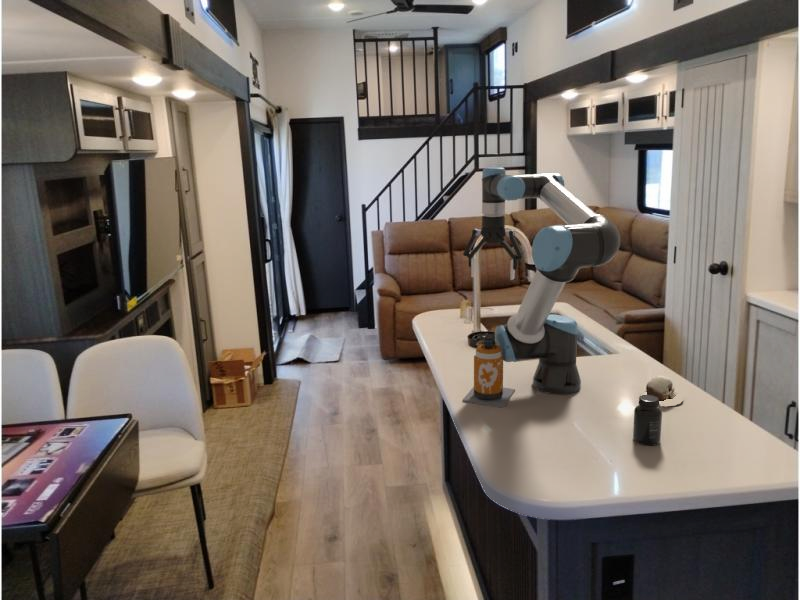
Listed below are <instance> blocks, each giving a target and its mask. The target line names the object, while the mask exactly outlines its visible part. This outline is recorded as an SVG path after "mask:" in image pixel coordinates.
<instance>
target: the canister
mask: <svg viewBox="0 0 800 600" xmlns="http://www.w3.org/2000/svg"><path fill="white" fill-rule="evenodd" d="M484 335H485V336H484V339H483V340H480V341H478V342H477V343H476V348H475V354H474V356H473V387H474V395H475V396H476V397H479V398H482V399H486V400H492V399H496V398H499V397H501V396H502V395H503V388H504V360H503V356H502V350H501V348H500V347H499V346H498V345H496V344H494V343H495V334H494V333H491V334H490V333H487V332H485V334H484Z"/></svg>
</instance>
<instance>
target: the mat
mask: <svg viewBox="0 0 800 600" xmlns="http://www.w3.org/2000/svg"><path fill="white" fill-rule="evenodd" d="M515 392H516V388H509V387H503V395H502V396H501V397H499V398H496V399H492V400H486V399H482V398H479V397H476V396H475V395H474V386H472V388H471V389H470V390H469V392H468V393H467V394H466V395H465V396H464V397H463V399H462V402H463V403H470V404H475V405H476V404H477V405H483V406H489V407H496V408H505V406H506V405H507V404H508V402H509V401H510V399H511V397H512V396H513V395H514V393H515Z"/></svg>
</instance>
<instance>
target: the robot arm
mask: <svg viewBox="0 0 800 600" xmlns="http://www.w3.org/2000/svg"><path fill="white" fill-rule="evenodd" d="M506 172H507V171H506V169H505V168H504V167H499V166H498V167H497V166H496V167H495V166H494V167H484V168H483V170H482V176H481V177H482V178H481V190H482V191H481V194H482V195H481V198H482V200H481V214H482V216H481V229H478V228H474V229H473V230H471V231H472V232H471V237H470V239H469V241H468V243H467V245H466V247H465V250H464V251H463V256H464V257H466V258H468V267H469V268H470V269H471V271H470V272H471V273H470V276H471V278H474V277H477V275H476V274H477V273H476V272H477V270H476V269H477V266H476V265H477V264H476V263H477V257H476V256H475V255H476V254H478V253H477V252H479V250H480V249H481V248H482V247H483V245H485V244H486V243H487V244H500V245H501V246H502V247H503V248H504V250H505V251H506V252H507V254H508V255H509V256H510V257H511V260H510V277H509V278H510V279H509V280H510V281H513V280H514V279H515V275H516V273H515V271H516V270H518V267H519V260H521V259H523V258H524V253H523V251H522V249H521V247H520V244H519V242H518V240H517V238H516V235H515V230H514V229H510V230H506V229H505V228H506V217H505V214H506V201H517V200H520V199H522V200H523V199H526V200H527V199H539V200H540V201H541V202H543V203H544V204H545V206H547V207H548V208H549V209H550V210H551V211H552V212H553V213H554V214H555V215H557V216H558V217H559V218H560V219H561V220H562V221H563V222H564V225H563V224H553V225H550V226H549V225H548V226H545V227H543V228H541V229H540V230H539V231H538V232H537V233H536V235H535V237H534V239H533V242H532V250H531V256H532V262H533V265H535V268H536V270H535V273H534V275H533V277H532V280H531V281H530V284H529V286H528V288H527V290H526V292H525V295H524V297H523V300H521V303H520V306H519V308H518V310H517V313H514V314H512V315H510V317H509V318H508V319H507V320H508V321H507V323H506V324H504V325H503V324H501V325H498V326H496V328H495V330H494V343H495V345H498V346H499V347H500V348H501V350H502V356H503V362H505V363H511V362H512V363H516V362H524V361H531V360H537V359H538V364H537V366H536V369H535V372H534V375H533V377H532V385H533V387H534V388H535V389H537V390H538V391H540V392H543V393H547V394H553V395H567V394H573V393H576V392H578V391H580V390H581V387H582V386H581V385H582V380H581V376H580V373H579V369H578V366H577V354H578V353H577V351H578V350H577V349H578V336H579V332H578V331H579V330H578V328H579V327H578V322H577V321H576V320H575V319H573V318H571V317H569V316H565V315H561V314H550V313H551V311H552V309H553V308H554V306H555V304H556V302H557V300H558V298H559V297H560V295H561V292H562V291H563V288H564V287H565V285H566V283H570V282H571V281H573V280H574V279H575V278H576V276H577V274H578V273H579V270H581V269H584V268H596V267H601V266H603V265H605V264H607V263H609V262H610V261H612V260H613V259H614V258H615V256H616V255H617V254H618V251H619V249H620V247H621V235H620V232H619V229H618V227H617V225H616V224H614V222H612V221H611V219H609V218H608V217H606V215H603V214H597V213H596V212H595V211H594V210H593V209H591V208H590V207H588V205H587V204H585V203H584V202H583V201H582V200H581V199H580V198H578V197H577V196H576V195H574V194H573V193H572V192H571V191H570V190H569V189H568V188H567V187H565V181H564V179H563V175H561V174H560V173H557V172H556V173H554V172H553V173H552V172H546V173H532V174H531V173H530V174H529V173H528V174H527V173H526V174H506ZM480 235H481V237H482V239H480V242H479V243H477V245H476V246H475V247H474V248H473V246H474V244H475V242H476V240H477V238H478V236H480ZM506 235H507V237H508V238H509V241H510V242H511V245H512V247H513V248H512V247H511V246H510V245H509V243H508V242H507V240H506V238H505V236H506ZM472 248H473V249H472ZM471 249H472V250H471ZM470 251H471V252H470ZM474 256H475V257H474Z"/></svg>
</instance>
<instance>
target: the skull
mask: <svg viewBox="0 0 800 600" xmlns="http://www.w3.org/2000/svg"><path fill="white" fill-rule="evenodd" d="M645 392H647V395H652V396H655V397H657V398H658V399H659V401H664V400H666V399H673V398H674V397H675V396H676V394H677V392H676V389H675V386H674V384H673V381H672V380H671V379H670V378H669V377H667V376H664V375H657V376H654V377H652V378H651V379H650V380H649V381H648V382H647V383H646V387H645Z"/></svg>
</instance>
